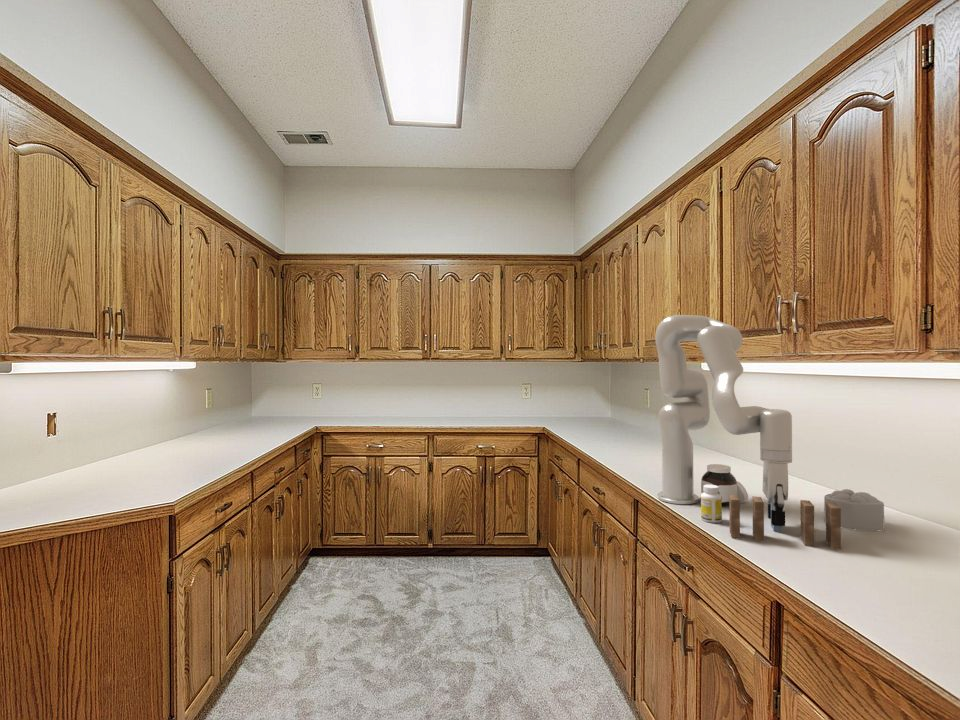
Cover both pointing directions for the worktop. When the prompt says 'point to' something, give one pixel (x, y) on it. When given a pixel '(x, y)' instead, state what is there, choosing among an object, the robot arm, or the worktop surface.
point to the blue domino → (775, 528)
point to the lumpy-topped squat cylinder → (857, 510)
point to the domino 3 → (807, 523)
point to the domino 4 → (833, 525)
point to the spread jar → (723, 483)
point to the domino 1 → (734, 516)
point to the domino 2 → (758, 518)
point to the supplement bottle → (711, 504)
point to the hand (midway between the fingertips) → (776, 521)
